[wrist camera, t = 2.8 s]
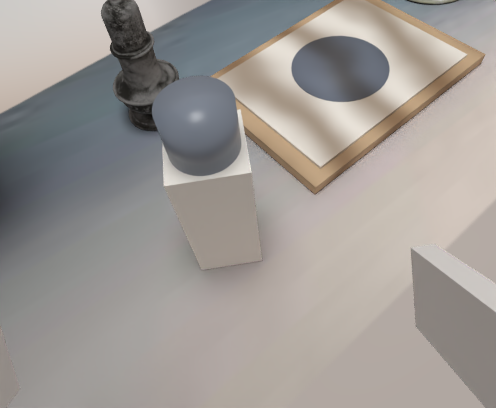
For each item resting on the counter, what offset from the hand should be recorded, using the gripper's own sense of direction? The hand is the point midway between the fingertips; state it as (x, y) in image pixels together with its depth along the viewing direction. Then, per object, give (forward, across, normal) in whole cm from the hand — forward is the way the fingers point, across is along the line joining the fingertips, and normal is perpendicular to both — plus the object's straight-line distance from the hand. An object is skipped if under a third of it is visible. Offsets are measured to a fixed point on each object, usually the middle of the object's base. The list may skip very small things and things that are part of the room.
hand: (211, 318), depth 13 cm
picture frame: (+29, +12, +8) cm, 32 cm away
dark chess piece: (+29, -6, +7) cm, 30 cm away
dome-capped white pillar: (+18, 0, -3) cm, 18 cm away
